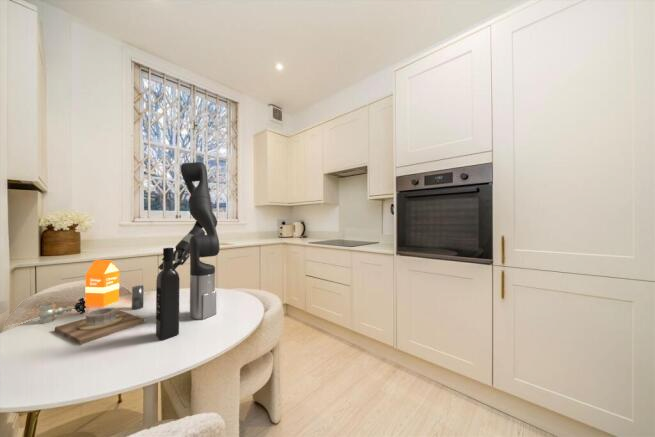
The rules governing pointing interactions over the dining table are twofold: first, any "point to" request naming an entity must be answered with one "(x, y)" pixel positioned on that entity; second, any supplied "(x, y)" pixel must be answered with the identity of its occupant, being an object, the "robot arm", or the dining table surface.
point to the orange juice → (102, 283)
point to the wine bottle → (167, 298)
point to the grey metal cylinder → (137, 297)
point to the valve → (58, 311)
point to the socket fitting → (98, 325)
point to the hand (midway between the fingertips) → (165, 269)
